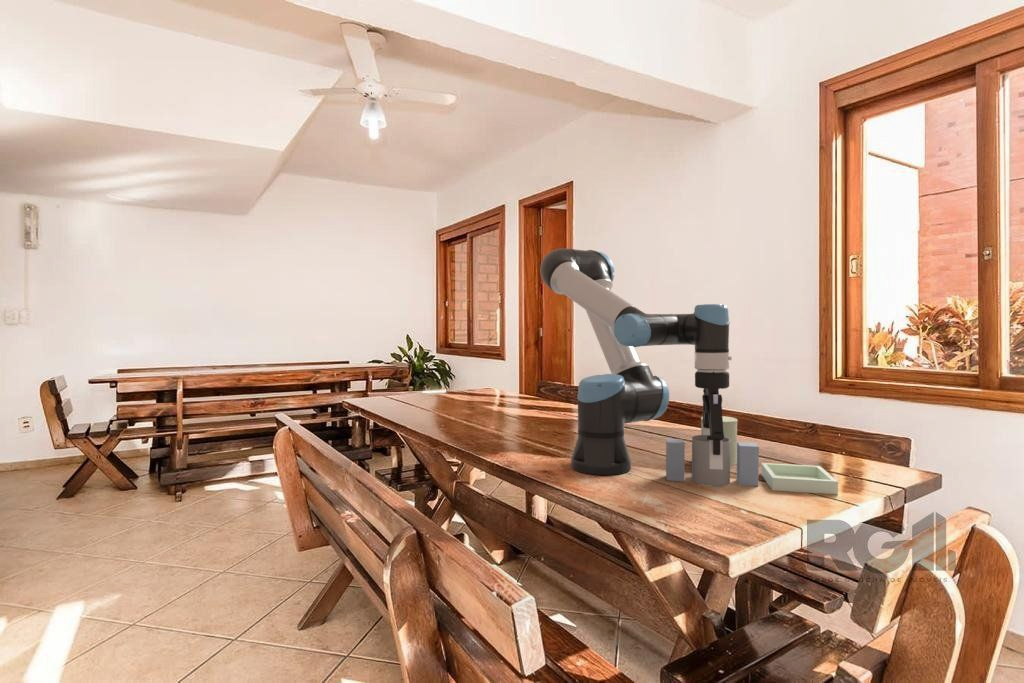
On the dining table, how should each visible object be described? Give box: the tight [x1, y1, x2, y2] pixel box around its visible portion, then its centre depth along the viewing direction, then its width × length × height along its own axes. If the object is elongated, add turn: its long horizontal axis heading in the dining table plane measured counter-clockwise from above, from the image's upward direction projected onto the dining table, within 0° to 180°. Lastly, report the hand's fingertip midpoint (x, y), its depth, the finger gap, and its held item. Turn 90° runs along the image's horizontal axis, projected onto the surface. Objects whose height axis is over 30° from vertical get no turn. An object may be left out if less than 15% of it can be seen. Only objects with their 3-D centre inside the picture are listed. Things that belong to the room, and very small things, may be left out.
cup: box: [691, 434, 731, 487], centre depth 129 cm, size 8×8×10 cm
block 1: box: [665, 438, 686, 482], centre depth 131 cm, size 4×4×9 cm
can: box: [700, 415, 738, 467], centre depth 147 cm, size 9×9×12 cm
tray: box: [760, 462, 839, 495], centre depth 127 cm, size 13×13×3 cm
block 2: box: [736, 441, 760, 487], centre depth 128 cm, size 4×4×9 cm
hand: (712, 461), depth 129 cm, fingers open, 13 cm apart
